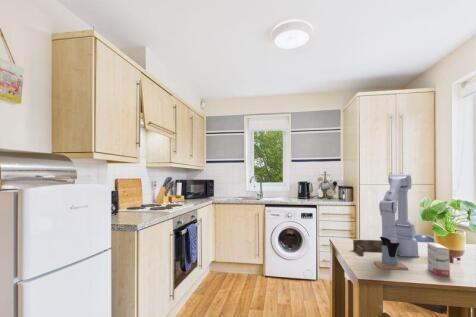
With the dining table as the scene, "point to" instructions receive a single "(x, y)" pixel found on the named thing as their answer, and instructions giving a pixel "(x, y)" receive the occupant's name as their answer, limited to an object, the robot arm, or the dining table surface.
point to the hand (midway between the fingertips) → (389, 254)
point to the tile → (385, 266)
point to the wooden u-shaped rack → (367, 245)
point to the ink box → (438, 259)
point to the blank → (388, 257)
